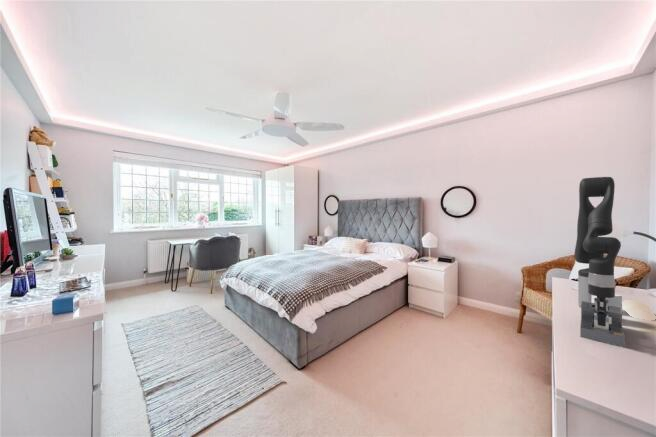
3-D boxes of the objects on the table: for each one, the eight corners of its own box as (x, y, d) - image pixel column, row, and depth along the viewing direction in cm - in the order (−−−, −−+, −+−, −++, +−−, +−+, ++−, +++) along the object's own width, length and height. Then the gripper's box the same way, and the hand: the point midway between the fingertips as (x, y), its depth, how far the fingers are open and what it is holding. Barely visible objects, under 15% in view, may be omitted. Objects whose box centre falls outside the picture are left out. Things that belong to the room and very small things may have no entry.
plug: (594, 331, 106) (594, 312, 106) (611, 335, 102) (611, 316, 102) (594, 333, 104) (594, 314, 104) (611, 337, 100) (611, 318, 100)
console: (581, 319, 120) (581, 301, 119) (620, 327, 111) (619, 307, 111) (580, 336, 103) (580, 315, 103) (625, 347, 94) (624, 324, 94)
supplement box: (623, 322, 115) (623, 296, 115) (604, 321, 116) (603, 295, 116) (608, 316, 122) (608, 291, 122) (590, 315, 124) (590, 290, 123)
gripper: (588, 279, 110) (588, 314, 111) (588, 286, 101) (588, 324, 101) (613, 282, 105) (613, 319, 105) (616, 289, 95) (616, 331, 96)
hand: (601, 322), depth 103 cm, fingers open, 8 cm apart
